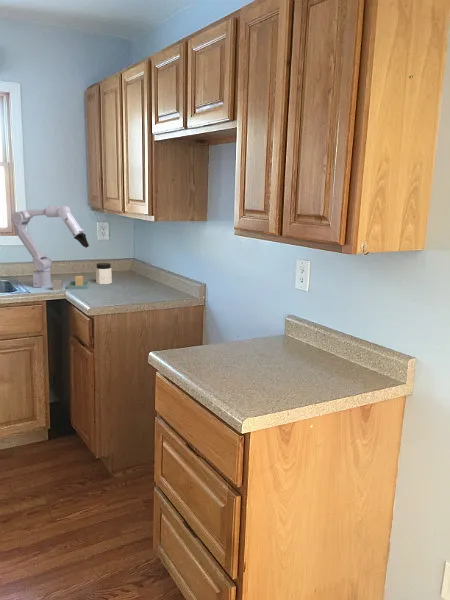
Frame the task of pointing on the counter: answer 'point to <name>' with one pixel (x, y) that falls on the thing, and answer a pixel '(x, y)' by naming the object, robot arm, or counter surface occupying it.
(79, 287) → the tote
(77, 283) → the tan box
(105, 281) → the jar
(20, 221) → the robot arm
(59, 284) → the concrete cube
